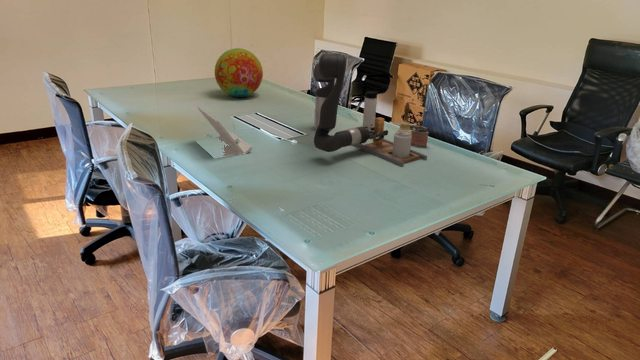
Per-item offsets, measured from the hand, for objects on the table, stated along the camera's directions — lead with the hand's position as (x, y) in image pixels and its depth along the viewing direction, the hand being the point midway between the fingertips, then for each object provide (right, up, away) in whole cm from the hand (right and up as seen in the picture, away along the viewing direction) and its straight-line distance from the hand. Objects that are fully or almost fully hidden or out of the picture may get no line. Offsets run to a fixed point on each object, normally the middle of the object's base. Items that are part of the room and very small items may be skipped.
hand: (382, 130), depth 212 cm
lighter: (+18, -7, +6) cm, 20 cm away
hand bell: (+15, +1, +25) cm, 29 cm away
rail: (0, -9, -1) cm, 9 cm away
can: (+7, -13, -9) cm, 17 cm away
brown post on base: (+3, -11, -5) cm, 12 cm away
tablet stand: (-73, -8, -5) cm, 73 cm away
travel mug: (-3, +4, +30) cm, 30 cm away
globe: (-81, +31, +84) cm, 121 cm away
